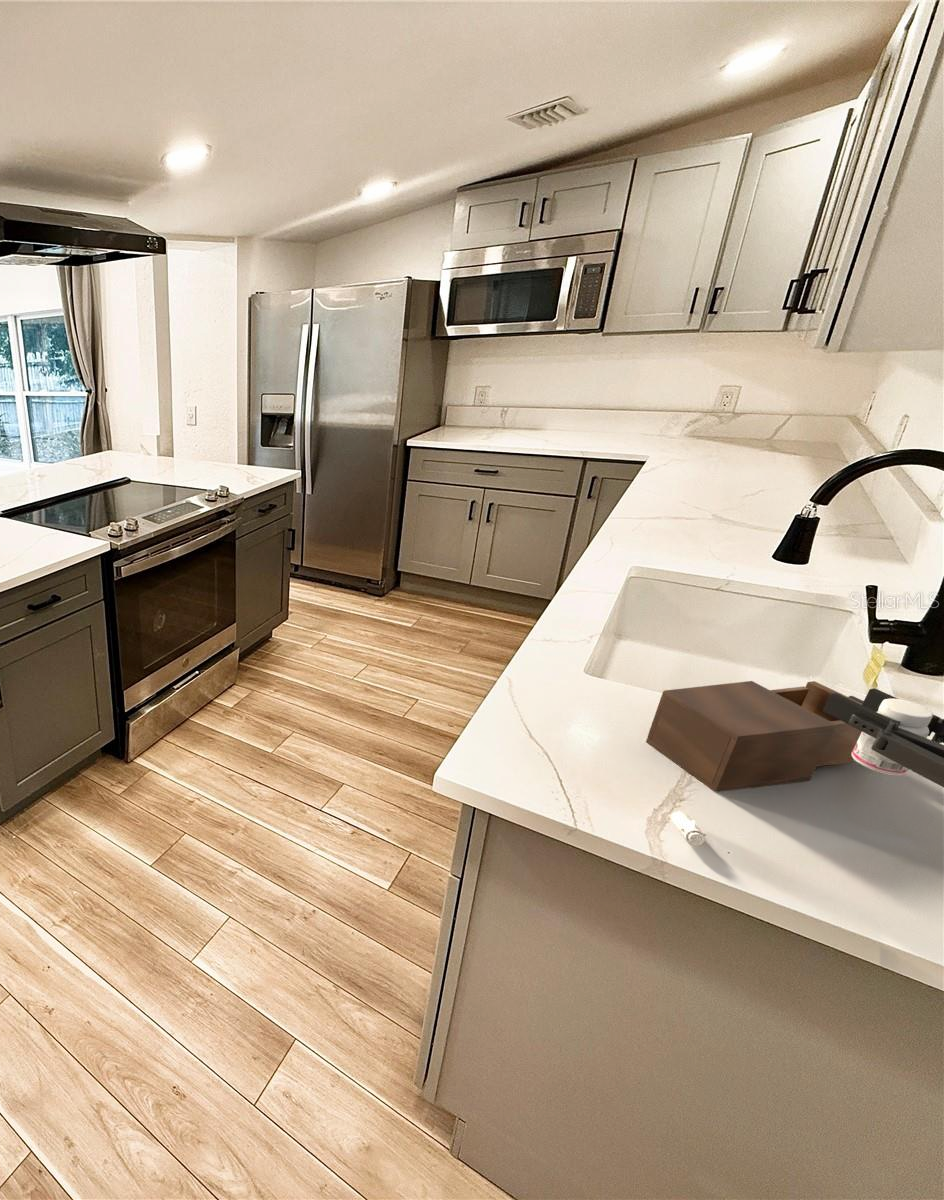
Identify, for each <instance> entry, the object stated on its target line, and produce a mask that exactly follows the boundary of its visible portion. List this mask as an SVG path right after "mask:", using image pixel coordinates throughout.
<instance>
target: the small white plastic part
mask: <svg viewBox="0 0 944 1200" xmlns="http://www.w3.org/2000/svg"><path fill="white" fill-rule="evenodd" d="M670 819H671V822H672V823H673V824H674V825H675V826H676V828H677V829H678V831H679V832H680V833H681V834H682V836H683V837H684V838H685V839H686V841H687V842H688V843H690V844H692V845H696V846H700V845H703V844H704V843H705V841H706V836H707V834H706V832H704V831H703V830H702V829H700V827H699V826H698V825H697V824H696V821H695V820H694V819H693V820H692V819H691V817H690V816H689V815H688V814H687V813H685V812H683V811H675V812H673V813H672V814H671V816H670Z"/></svg>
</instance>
